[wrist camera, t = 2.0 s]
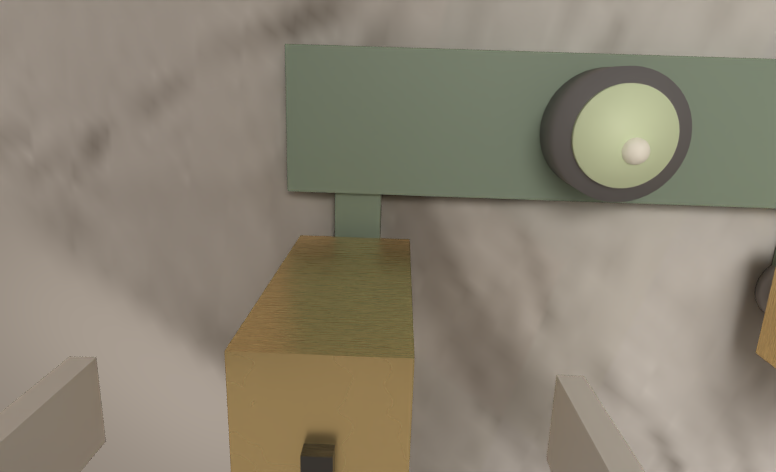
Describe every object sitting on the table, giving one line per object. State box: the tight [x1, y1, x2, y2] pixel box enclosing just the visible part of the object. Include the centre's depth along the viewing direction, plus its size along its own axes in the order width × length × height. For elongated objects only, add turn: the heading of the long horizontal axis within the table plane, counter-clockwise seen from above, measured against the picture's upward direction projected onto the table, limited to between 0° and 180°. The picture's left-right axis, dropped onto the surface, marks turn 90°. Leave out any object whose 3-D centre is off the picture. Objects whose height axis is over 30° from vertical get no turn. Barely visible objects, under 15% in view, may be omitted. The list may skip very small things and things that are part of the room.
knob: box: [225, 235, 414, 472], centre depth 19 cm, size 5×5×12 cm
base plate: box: [285, 44, 776, 313], centre depth 23 cm, size 12×26×4 cm, turn 88°
